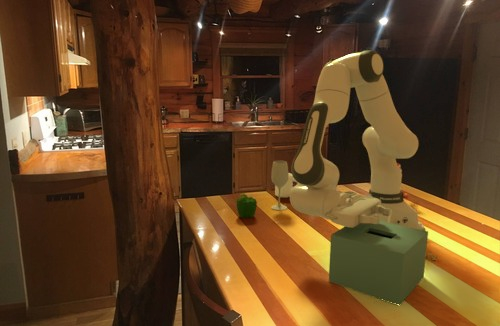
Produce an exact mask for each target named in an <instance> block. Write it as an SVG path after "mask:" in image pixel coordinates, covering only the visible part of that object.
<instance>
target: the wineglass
mask: <svg viewBox="0 0 500 326" xmlns="http://www.w3.org/2000/svg"><path fill="white" fill-rule="evenodd" d="M288 173H289V165H288V162H287V161H285V160H274V161H273V162H272V166H271V174H270V175H271V176H270V178H271V182H272V183H273V185H274V186H275V185H276V186H277V187H278V189H279V197H278V204H274V205H271V207H270V209H271V210H274V211H286V210H287V209H288V206H286V205H283V204H281V197H280V190H281V187H283V186H284V185H285V184H286V183H287V181H288Z"/></svg>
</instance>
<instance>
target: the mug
mask: <svg viewBox="0 0 500 326" xmlns="http://www.w3.org/2000/svg"><path fill="white" fill-rule="evenodd" d="M293 182H295V183H296V184H298V182H297V181H296V180H295V179H294V177H293V175H292V172H291V173H290V172H288V181H287V183H286V184H285V185H284V186H283V187H281V190H280V198H283V199H284V198H290V192H291V189H292V188H293V187H294V186H293V185H294V184H293ZM274 194H275V196H276V197H277V198H279V189H278V187H277V186H276V185H275V184H274Z"/></svg>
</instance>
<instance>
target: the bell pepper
mask: <svg viewBox="0 0 500 326" xmlns="http://www.w3.org/2000/svg"><path fill="white" fill-rule="evenodd" d="M257 202H258V201H257V200H256V198H254V197H253V196H248V195H247V194H245V193H240V198H239V197H238V198H237V199H236V209H237V212H238V213H237V214H238V215H239V217H240V218H242V219H243V218H244V219H245V218H247V219H252V218H253V217H254V216H255V214H256V210H257V204H258V203H257Z"/></svg>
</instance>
